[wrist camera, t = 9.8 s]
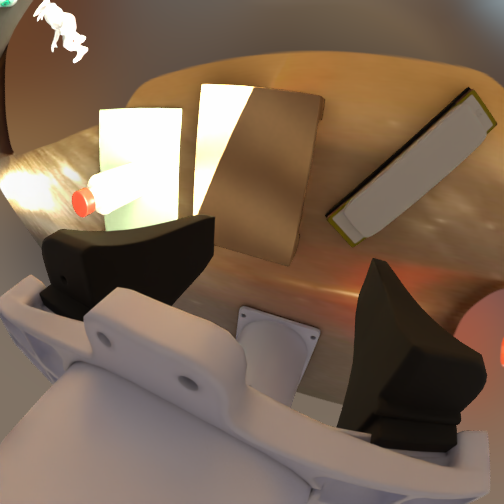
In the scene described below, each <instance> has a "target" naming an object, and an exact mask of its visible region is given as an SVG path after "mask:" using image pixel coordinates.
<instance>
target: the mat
mask: <svg viewBox="0 0 504 504" xmlns="http://www.w3.org/2000/svg"><path fill="white" fill-rule="evenodd" d="M181 118H182V109H180V108H123V109H104V110H100V111H99V152H100V173H101V172H104V171H106V170H109V169H112V168H115V167H118V166H121V165H124V164H127V163H130V162H132V163H136V164H138V165H139V166H140V167H141V168H142V169H143V171H144V173H145V175H146V178H147V189H146V192H145V194H144V195H143V196H142V197H140V198H138V199H136V200H134V201H132V202H130V203H128V204H126V205H124V206H123V207H121V208H119V209H117V210H115V211H113V212H111V213H109V214H106V215H104V220H105V228H106V231H114V230H127V229H134V228H141V227H146V226H151V225H155V224H160V223H164V222H168V221H172V220H176V219H178V180H179V153H180V134H181Z"/></svg>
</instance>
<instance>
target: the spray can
mask: <svg viewBox="0 0 504 504" xmlns="http://www.w3.org/2000/svg"><path fill="white" fill-rule="evenodd" d="M16 2H17V0H0V7H10V6H13V5H14V4H15V3H16Z"/></svg>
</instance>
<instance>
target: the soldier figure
mask: <svg viewBox="0 0 504 504" xmlns="http://www.w3.org/2000/svg"><path fill="white" fill-rule="evenodd" d="M36 15H39V16H38V18H37V21H38V20H39V19H40V18H41V20H42V19H43V16H44V17H45V20H46V21H47V23H48V24H50V25H51V26H52V27H51V28H53V29H55V30H56V31H55V36H54V39H53V43H52V46H51V50H52V52H54V50H53V49H54V47H56V48H57V45H56V42H57V41H58V39H59V36H60V35H62V36H63V47H64V48H67V49H68V50H69V51H76V52H78V53H77V56H76V57H75V59H74V60H73V62H74V63H76V62H78V61H79V60H80V59H81V58H82V56H83V55H84V54H85V53H86V52H87V50H88V48H87V47H85V46H82V45H80V44H81V43H82V42H84V41H85V39H86V37H85V36H83V35H79V34H78V33H77V32H75V31H76V21H75V17H74V16H73V15H72V14H70V13H65V12H63V11H62V9H61V8H58V6H56V4H55V3H50V0H44V1H43V2H42V3H41V5H40V6H39V7H38V8H37V10H36V11H35V13H34V16H36ZM73 40H74V42H73Z"/></svg>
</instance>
